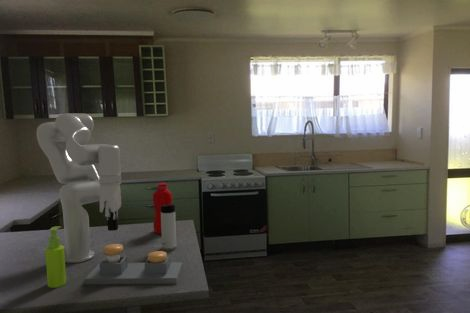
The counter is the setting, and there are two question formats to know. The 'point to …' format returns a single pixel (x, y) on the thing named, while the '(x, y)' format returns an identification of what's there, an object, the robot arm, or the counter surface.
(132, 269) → the console
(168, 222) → the travel mug
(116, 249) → the knob
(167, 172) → the counter surface
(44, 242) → the counter surface
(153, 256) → the knob
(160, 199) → the water bottle
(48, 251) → the soap dispenser
